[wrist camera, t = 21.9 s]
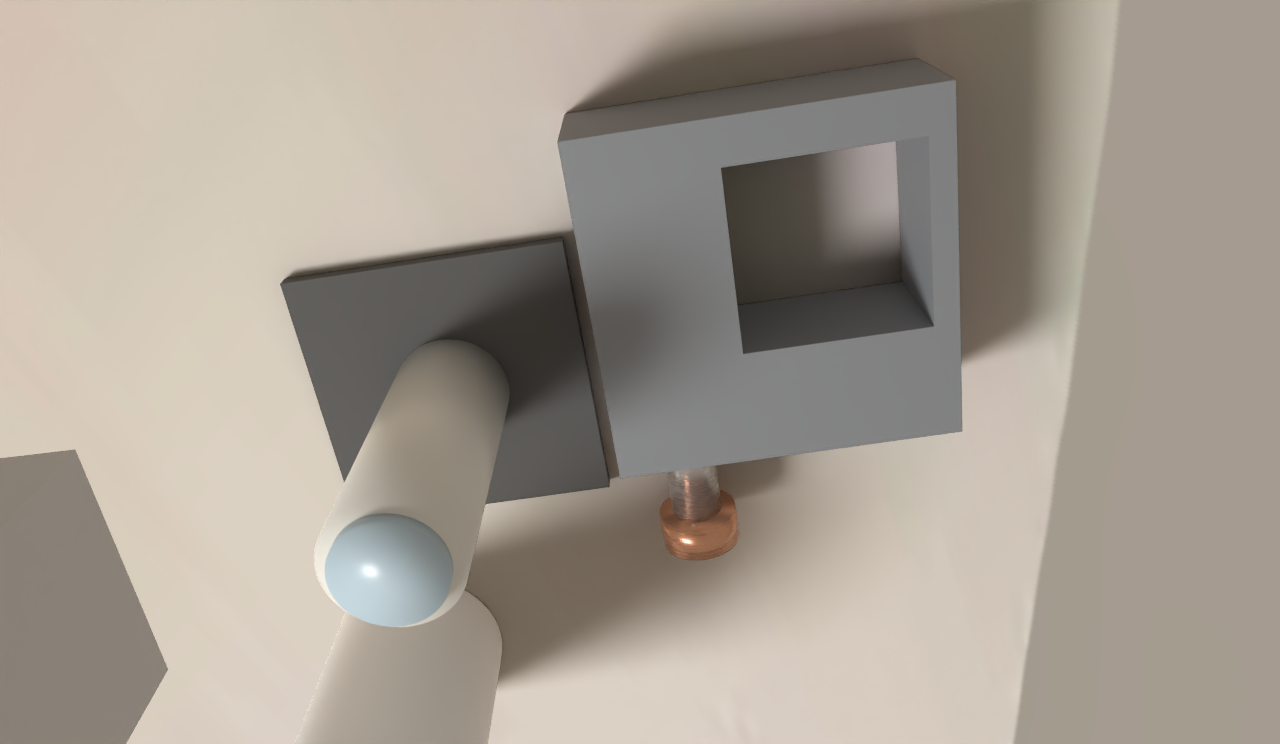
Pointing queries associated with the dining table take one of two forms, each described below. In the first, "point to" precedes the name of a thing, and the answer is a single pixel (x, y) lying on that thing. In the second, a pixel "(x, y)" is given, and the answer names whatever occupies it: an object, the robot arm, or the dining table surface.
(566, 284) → the mat
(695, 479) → the plunger
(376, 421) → the cylinder
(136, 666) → the robot arm
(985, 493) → the dining table surface
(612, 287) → the frame
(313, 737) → the cup
